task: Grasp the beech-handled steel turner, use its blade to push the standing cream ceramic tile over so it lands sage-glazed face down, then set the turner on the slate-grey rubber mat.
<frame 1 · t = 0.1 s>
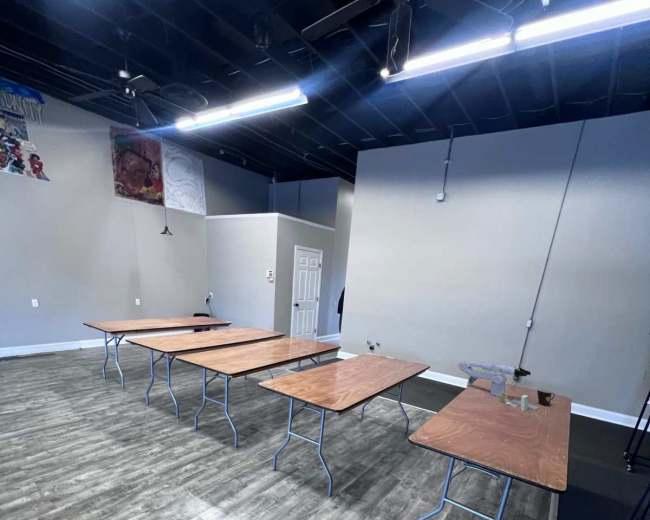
hand: (528, 374, 217), 22 cm above the table, tool horizontal, fingers open, 7 cm apart
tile: (524, 409, 205), on the table
turner: (503, 402, 215), on the table
coffee mug: (546, 405, 216), on the table
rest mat: (524, 404, 214), on the table
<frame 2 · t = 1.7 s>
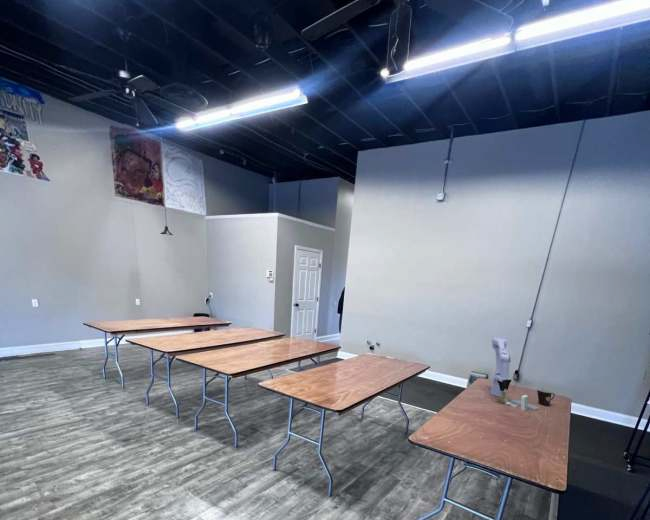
hand: (504, 390, 216), 9 cm above the table, tool pointing down, fingers open, 7 cm apart
nothing on the table moved.
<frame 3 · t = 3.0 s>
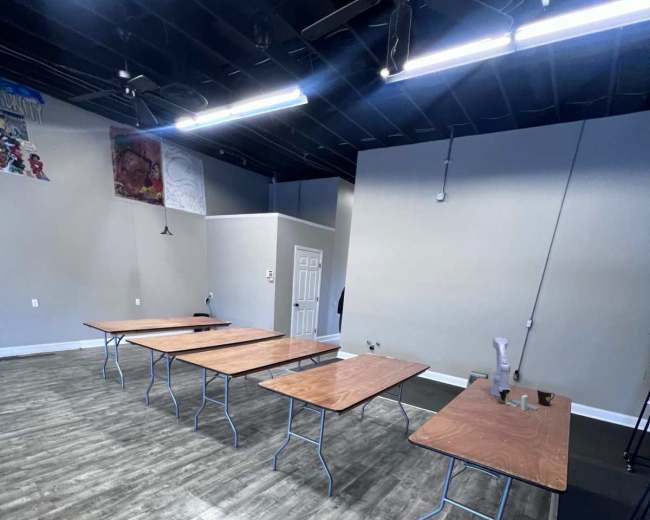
hand: (503, 400, 215), 2 cm above the table, tool pointing down, fingers closed on turner, 2 cm apart
turner: (503, 402, 215), on the table, touching gripper
everything else where it was.
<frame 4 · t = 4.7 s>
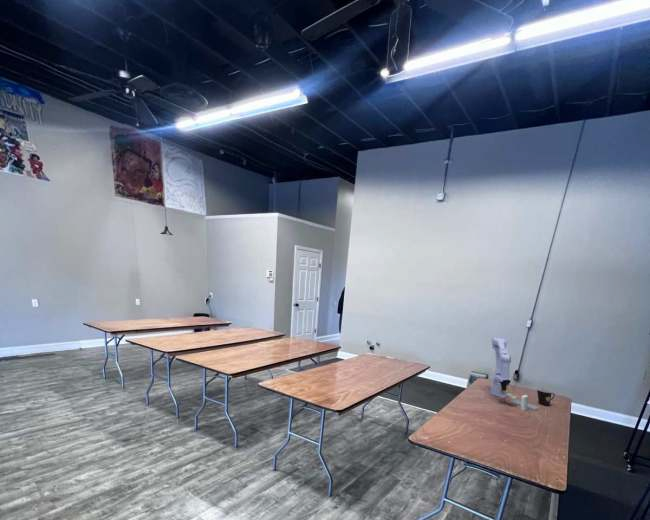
hand: (504, 390, 216), 9 cm above the table, tool pointing down, fingers closed on turner, 2 cm apart
turner: (503, 393, 216), point 6 cm above the table, touching gripper
everything else where it was.
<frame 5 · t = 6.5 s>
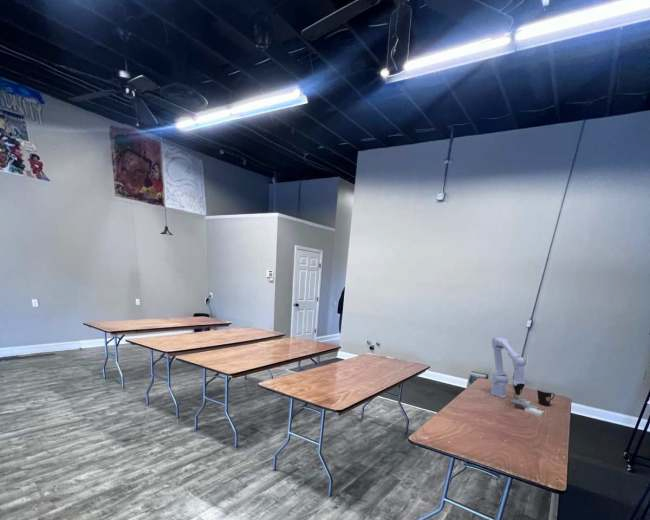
hand: (518, 394, 209), 9 cm above the table, tool pointing down, fingers closed on turner, 2 cm apart
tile: (526, 408, 204), point 1 cm above the table, tilted 90°
turner: (516, 398, 209), point 6 cm above the table, touching gripper
everything else where it was.
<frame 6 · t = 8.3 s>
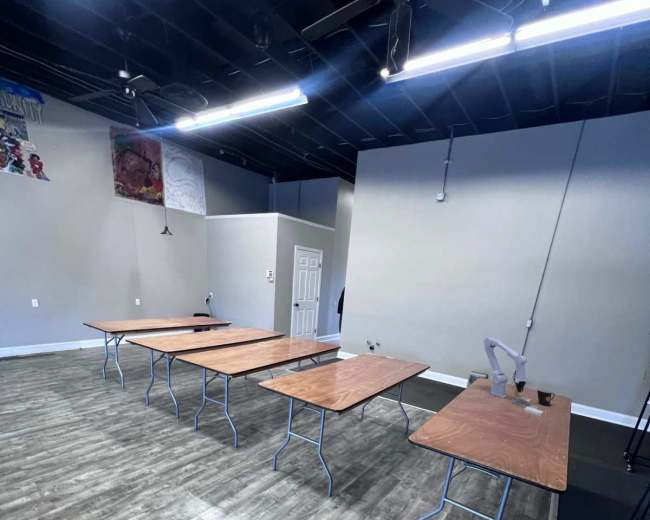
hand: (520, 391, 217), 8 cm above the table, tool pointing down, fingers closed on turner, 2 cm apart
turner: (517, 396, 217), point 4 cm above the table, touching gripper
everything else where it was.
when the fingers open (4 cm above the table, at t = 9.3 s): turner stays where it is, resting on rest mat.
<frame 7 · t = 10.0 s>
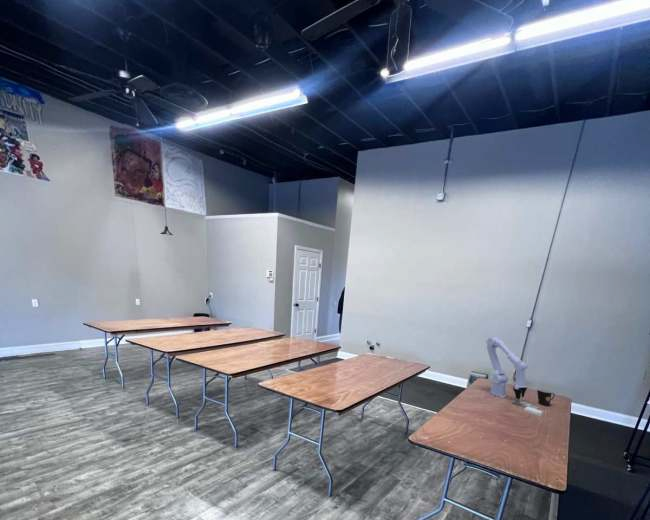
hand: (519, 397, 216), 4 cm above the table, tool pointing down, fingers open, 7 cm apart
turner: (517, 401, 217), point 1 cm above the table, touching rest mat
everything else where it was.
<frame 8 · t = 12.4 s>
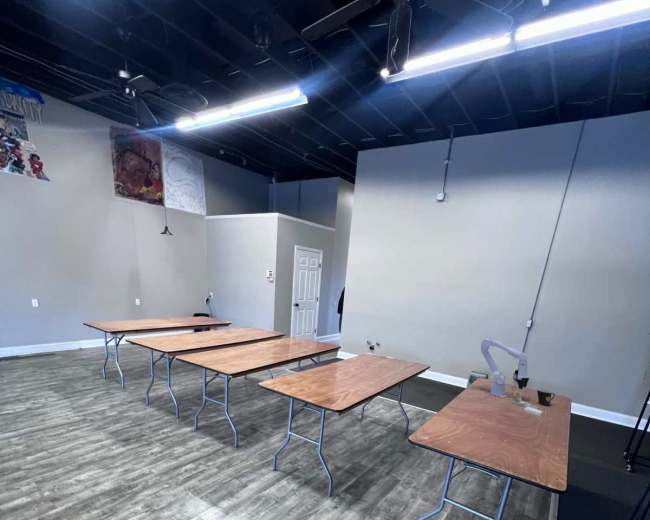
hand: (522, 388, 222), 9 cm above the table, tool pointing down, fingers open, 7 cm apart
nothing on the table moved.
at the end: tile tilted 90°; turner inside the target area on the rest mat (1.3 cm from its centre), point 0.6 cm above the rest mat's base; the gripper is holding nothing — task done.
